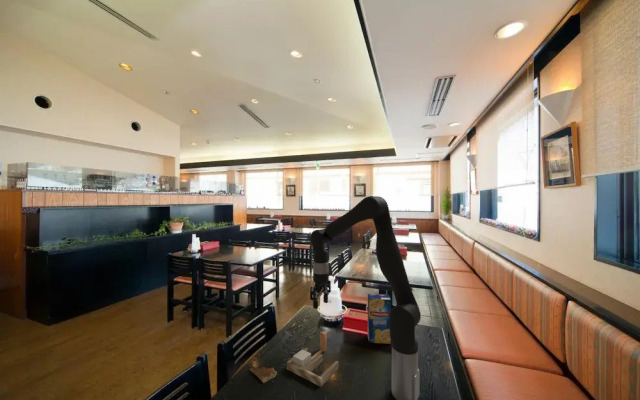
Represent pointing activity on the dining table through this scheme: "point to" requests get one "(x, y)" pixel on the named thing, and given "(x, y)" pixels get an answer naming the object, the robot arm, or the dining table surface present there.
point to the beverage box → (379, 318)
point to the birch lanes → (308, 369)
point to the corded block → (305, 357)
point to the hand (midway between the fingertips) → (320, 305)
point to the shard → (264, 373)
